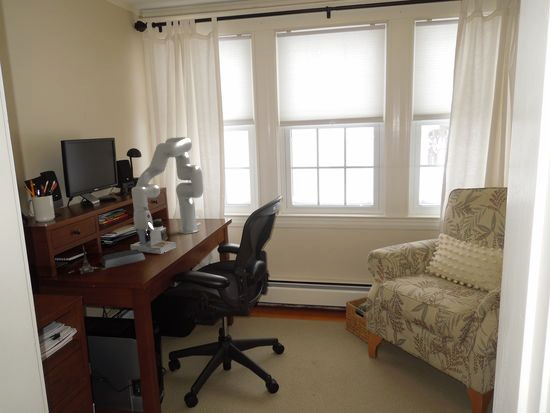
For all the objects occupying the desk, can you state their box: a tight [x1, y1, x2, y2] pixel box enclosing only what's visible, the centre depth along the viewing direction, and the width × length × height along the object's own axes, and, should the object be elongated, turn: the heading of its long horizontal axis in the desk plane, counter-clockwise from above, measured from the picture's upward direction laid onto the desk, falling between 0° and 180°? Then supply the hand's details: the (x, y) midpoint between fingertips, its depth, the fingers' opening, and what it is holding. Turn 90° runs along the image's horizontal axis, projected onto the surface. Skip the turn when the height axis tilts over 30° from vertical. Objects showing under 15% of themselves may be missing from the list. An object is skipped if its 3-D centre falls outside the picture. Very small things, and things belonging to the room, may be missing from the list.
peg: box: [138, 229, 151, 245], centre depth 223 cm, size 4×4×11 cm
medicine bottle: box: [150, 219, 168, 241], centre depth 238 cm, size 7×7×12 cm
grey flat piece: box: [130, 240, 177, 255], centre depth 221 cm, size 12×22×3 cm, turn 63°
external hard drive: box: [100, 249, 146, 269], centre depth 202 cm, size 13×19×4 cm
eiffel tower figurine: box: [68, 246, 108, 274], centre depth 189 cm, size 15×10×13 cm
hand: (145, 240), depth 223 cm, fingers closed on peg, 4 cm apart
